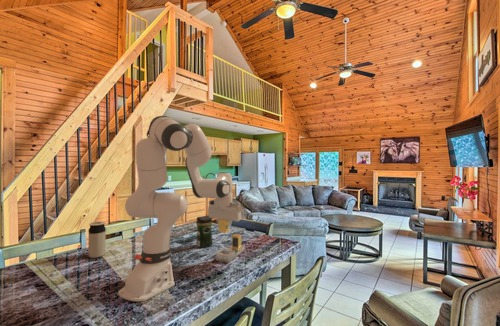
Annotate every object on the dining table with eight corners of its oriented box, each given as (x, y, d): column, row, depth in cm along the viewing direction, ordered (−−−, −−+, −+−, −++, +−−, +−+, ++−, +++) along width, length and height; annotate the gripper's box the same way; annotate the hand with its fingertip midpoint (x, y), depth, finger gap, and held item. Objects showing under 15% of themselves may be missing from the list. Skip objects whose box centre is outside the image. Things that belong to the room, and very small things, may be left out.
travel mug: (95, 258, 130) (95, 225, 130) (85, 256, 133) (85, 224, 133) (108, 253, 138) (108, 221, 138) (98, 251, 140) (98, 220, 140)
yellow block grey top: (229, 231, 133) (229, 218, 133) (224, 233, 129) (224, 220, 129) (223, 230, 135) (224, 217, 135) (218, 232, 131) (218, 219, 131)
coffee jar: (208, 242, 158) (208, 214, 158) (214, 246, 152) (214, 216, 151) (194, 245, 153) (194, 215, 152) (199, 249, 146) (199, 218, 146)
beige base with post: (228, 263, 127) (228, 245, 126) (215, 260, 129) (215, 243, 129) (245, 249, 147) (245, 234, 147) (233, 247, 150) (234, 232, 150)
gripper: (243, 202, 129) (243, 228, 129) (213, 199, 140) (213, 223, 140) (236, 204, 124) (236, 231, 124) (206, 201, 134) (206, 226, 134)
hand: (224, 227), depth 132 cm, fingers closed on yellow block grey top, 4 cm apart
